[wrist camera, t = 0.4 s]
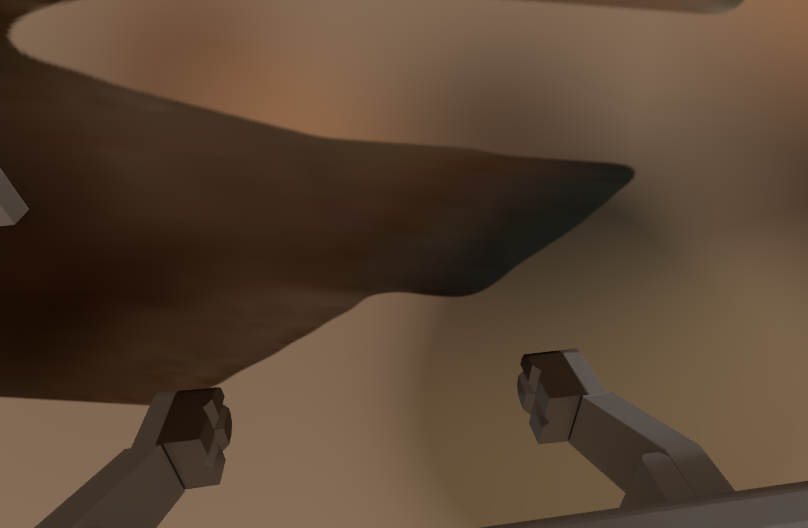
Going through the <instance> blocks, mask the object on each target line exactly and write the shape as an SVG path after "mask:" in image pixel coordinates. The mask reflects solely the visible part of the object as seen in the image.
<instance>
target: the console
mask: <svg viewBox="0 0 808 528" xmlns="http://www.w3.org/2000/svg"><path fill="white" fill-rule="evenodd" d="M28 210H29V208H28V207H27V205H26V204H25V202H24V201H23V199H22V198H21V197H20V195H19V194H18V192H17V191H16V190H15V188H14V187H13V185H12V184H11V182H10V181H9V180H8V178H7V177H6V175H5V174H4V172H3V171H2V170H1V168H0V226H7V225H15V224H16V223H17V222H18V221H19V220H20V219H21V218H22V217H23V215H24V214H25V213H26V212H27V211H28Z"/></svg>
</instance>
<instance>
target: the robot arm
mask: <svg viewBox="0 0 808 528" xmlns="http://www.w3.org/2000/svg"><path fill="white" fill-rule="evenodd" d="M520 365H521V367H522V369H523V372H522V373H521V374H520V375H519V376H518V382H517V387H518V395H519V399H520V403H521V405H522V407H523V410H525V411H526V412H527V413H529V414H530V415H531V417H530V422H529V424H530V426H531V428H532V431H533V433H534V435H535V437H536V440H537V442H538V444H543V443H555V442H565V441H569V443H570V444H571V445H572V446H573V447H574V448H575V449H576V450H578V451H579V452H580V453H581V454H582V455H583V456H584V457H586V458H587V459H588V460H589V461H590V462H591V463H592V464H593V465H595V466H596V467H597V468H598V469H599V470H600V471H601V472H603V473H604V474H605V475H606V476H607V477H608V478H609V479H611V480H612V481H613V482H614V483H615V484H616V485H617V486H618V487H620V488H621V489H622V490H623V491H624V492H625V493H626V494H625V496H624V498H623V500H622V503H621V505H620V507H619V508H614V509H607V510H601V511H593V512H586V513H579V514H572V515H565V516H559V517H551V518H544V519H537V520H531V521H523V522H516V523H509V524H503V525H495V526H489V527H482V528H808V481H804V482H796V483H789V484H782V485H775V486H769V487H761V488H754V489H747V490H740V491H735V490H734V489H733V488H732V486H731V485H730V484H729V482H728V481H727V480H726V479H725V477H724V476H723V475H722V473H721V472H720V471H719V469H718V468H717V467H716V466H715V464H714V463H713V462H712V460H711V459H710V458H709V456H708V455H707V454H706V453H705V451H704V450H703V449H702V447H701V446H700V445H698V444H697V443H695V442H693V441H692V440H690V439H688V438H687V437H685V436H684V435H682V434H680V433H679V432H677V431H675V430H674V429H672V428H670V427H669V426H667V425H665V424H664V423H662V422H660V421H659V420H657V419H655V418H654V417H652V416H651V415H649V414H647V413H646V412H644V411H642V410H640V409H639V408H637V407H636V406H634V405H632V404H631V403H629V402H627V401H626V400H624V399H623V398H621V397H619V396H618V395H616V394H614V393H607V392H606V390H605V388H604V387H603V386H602V384H601V382H600V381H599V379H598V378H597V376H596V375H595V373H594V372H593V370H592V369H591V367H590V366H589V364H588V363H587V361H586V360H585V358H584V357H583V355H582V354H581V352H580V351H579V350H577V349H567V350H559V351H550V352H541V353H532V354H524V355H523V357H522V359H521V364H520ZM223 400H224V394H223V391H222V389H221V388H219V387H214V388H202V389H190V390H179V391H169V392H159V393H158V394H157V395H156V396H155V397H154V398H153V400H152V402H151V405H150V407H149V409H148V411H147V414H146V416H145V418H144V420H143V423H142V425H141V427H140V429H139V432H138V434H137V436H136V438H135V441H134V443H133V445H132V447H131V448H129V449H124V450H123V451H122V452H121V453H120V454H119V455H118V456H116V457H115V458H114V459H113V460H112V461H111V462H110V463H108V464H107V465H106V466H105V467H104V468H103V469H101V470H100V471H99V472H98V473H97V474H96V475H95V476H93V477H92V478H91V479H90V480H89V481H88V482H86V483H85V484H84V485H83V486H82V487H81V488H79V490H77V491H76V492H75V493H74V494H73V495H71V496H70V497H69V498H68V499H67V500H66V501H64V503H62V504H61V505H60V506H59V507H58V508H56V509H55V510H54V511H53V512H52V513H51V514H50V515H49V516H47V517H46V518H45V519H44V520H43V521H41V522H40V523H39V524H38V525H37V526H36V527H35V528H156V527H157V526H158V525H159V524H160V522H161V521H162V520H163V518H164V517H165V516H166V515H167V513H168V512H169V511H170V510H171V508H172V507H173V506H174V505H175V503H176V502H177V501H178V500H179V498H180V497H181V496H182V495H183V493H184V492H185V491H184V490H185V489H192V488H198V487H205V486H211V485H218V484H220V481H221V477H222V472H223V469H224V464H225V457H224V454H223V452H222V451H223V450H224V449H225V448H226V447H227V446H228V445H229V443H230V438H231V431H232V419H231V414H230V411H229V408H228V407H226V406H225V405H223Z"/></svg>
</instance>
